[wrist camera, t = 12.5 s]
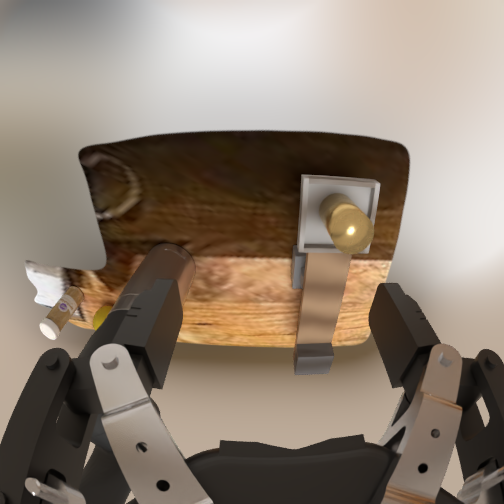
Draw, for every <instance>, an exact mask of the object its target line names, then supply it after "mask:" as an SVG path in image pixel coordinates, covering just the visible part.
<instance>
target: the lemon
mask: <svg viewBox="0 0 504 504" xmlns="http://www.w3.org/2000/svg"><path fill="white" fill-rule="evenodd" d="M111 309H112V307H111V306H103V307H101V308H100V309H99V310H98V311H97V312H96V314H95V316H94V319H93V327H94V329H95V331H96V330H97V329H98V328H99V326H100V325H101V324H102V323H103V322H104V320H105V318H106V317H107V315H108V313H109V312H110V310H111Z"/></svg>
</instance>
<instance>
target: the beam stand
mask: <svg viewBox="0 0 504 504" xmlns="http://www.w3.org/2000/svg"><path fill="white" fill-rule="evenodd" d="M305 262H306V253H305V252H298V248H297V245H293V256H292V268H291V281H292V288H293V289H303V280H304V271H305Z"/></svg>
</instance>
